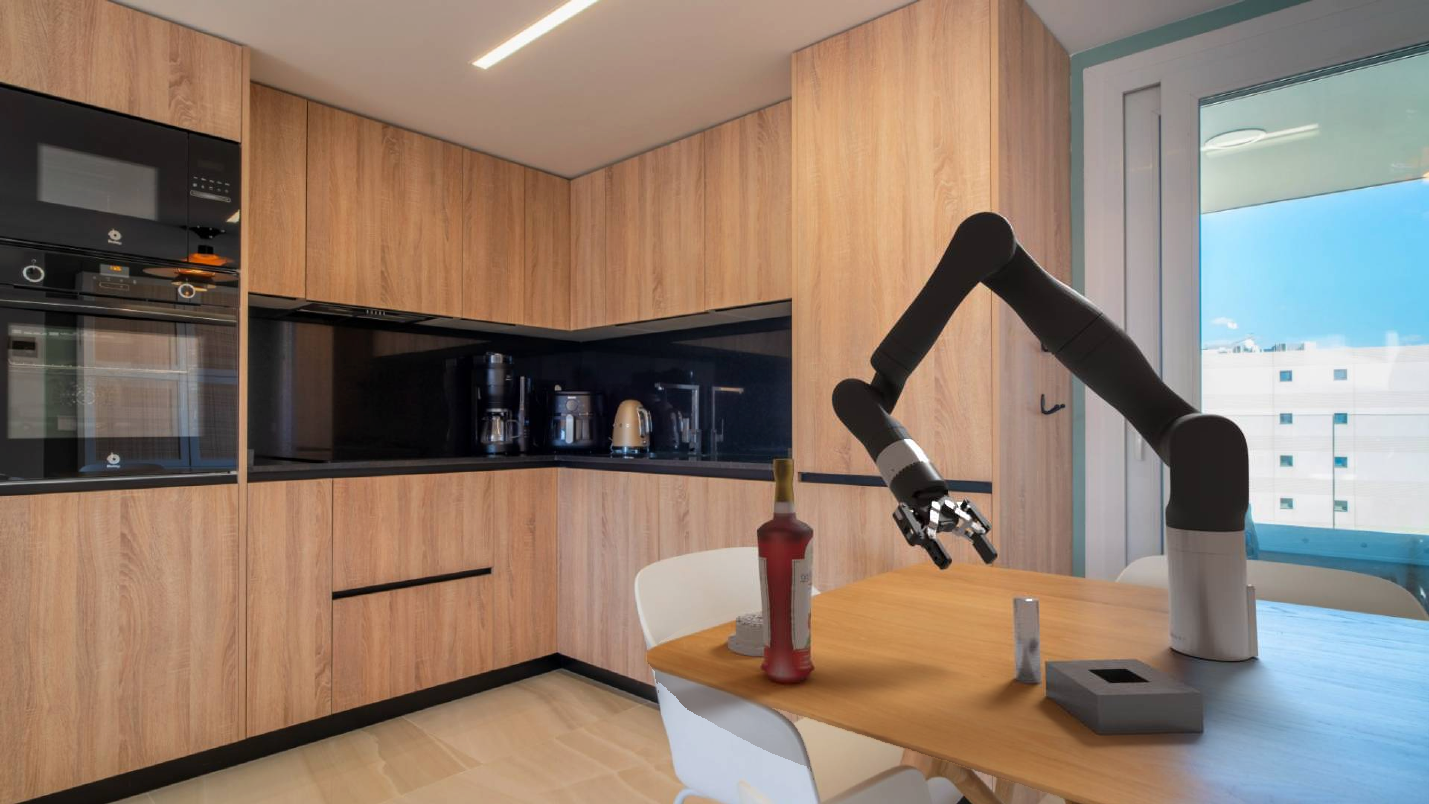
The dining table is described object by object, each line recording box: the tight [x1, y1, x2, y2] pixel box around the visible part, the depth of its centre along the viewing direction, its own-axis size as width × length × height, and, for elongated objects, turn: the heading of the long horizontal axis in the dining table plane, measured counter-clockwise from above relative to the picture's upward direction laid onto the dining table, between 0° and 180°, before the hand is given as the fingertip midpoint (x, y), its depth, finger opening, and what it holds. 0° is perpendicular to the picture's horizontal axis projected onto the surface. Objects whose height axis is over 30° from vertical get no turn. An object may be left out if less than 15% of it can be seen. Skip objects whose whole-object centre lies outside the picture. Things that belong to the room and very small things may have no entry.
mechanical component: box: [727, 612, 764, 657], centre depth 106 cm, size 10×4×10 cm
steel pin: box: [1012, 596, 1042, 685], centre depth 90 cm, size 3×3×10 cm
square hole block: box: [1044, 658, 1205, 736], centre depth 79 cm, size 11×11×4 cm
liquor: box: [756, 458, 815, 685], centre depth 93 cm, size 7×7×28 cm
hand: (970, 563), depth 99 cm, fingers open, 8 cm apart
